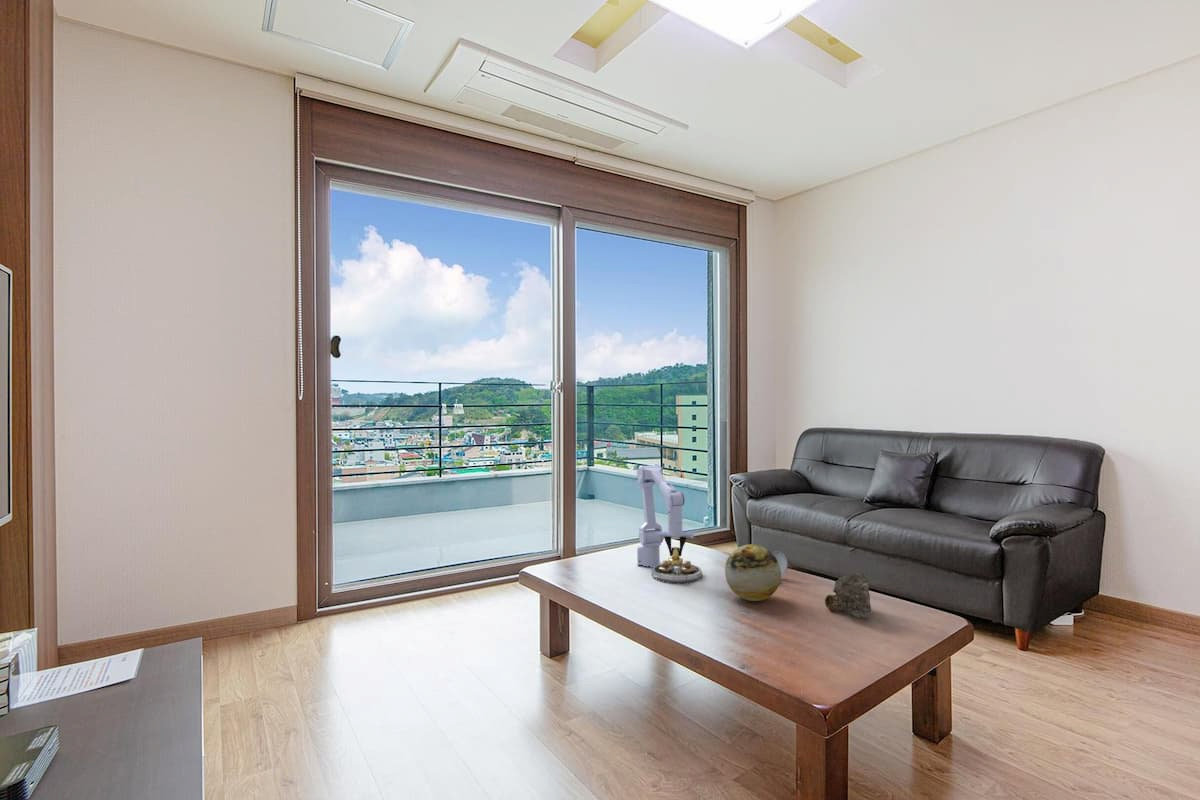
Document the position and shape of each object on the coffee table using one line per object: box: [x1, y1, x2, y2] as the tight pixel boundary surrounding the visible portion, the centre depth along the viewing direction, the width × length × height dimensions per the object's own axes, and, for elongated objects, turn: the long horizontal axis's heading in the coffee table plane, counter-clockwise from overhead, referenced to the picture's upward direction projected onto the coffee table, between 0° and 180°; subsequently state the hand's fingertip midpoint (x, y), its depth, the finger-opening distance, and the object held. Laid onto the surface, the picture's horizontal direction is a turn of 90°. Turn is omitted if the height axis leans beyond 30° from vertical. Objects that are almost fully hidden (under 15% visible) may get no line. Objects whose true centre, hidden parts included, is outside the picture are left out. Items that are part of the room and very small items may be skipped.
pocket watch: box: [771, 550, 789, 576], centre depth 244 cm, size 10×11×15 cm
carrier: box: [651, 560, 703, 584], centre depth 253 cm, size 21×21×5 cm
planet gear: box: [667, 546, 684, 565], centre depth 247 cm, size 6×6×6 cm
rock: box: [824, 572, 873, 620], centre depth 206 cm, size 18×14×15 cm
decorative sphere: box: [724, 543, 782, 602], centre depth 222 cm, size 20×20×20 cm
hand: (675, 555), depth 247 cm, fingers closed on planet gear, 3 cm apart
